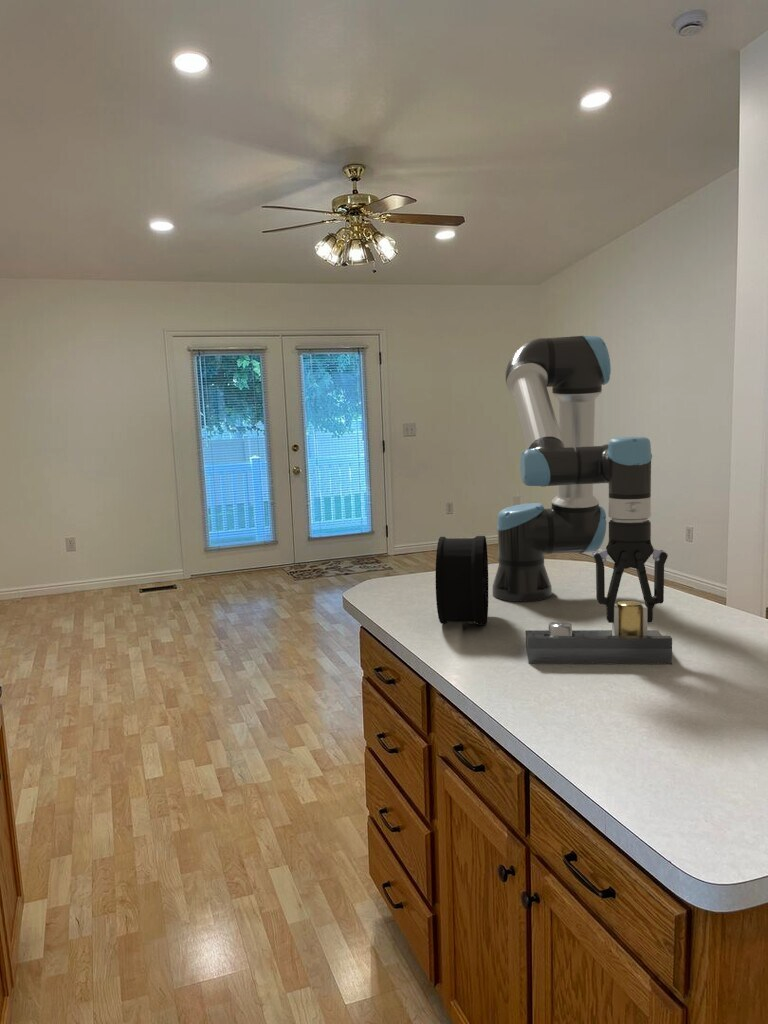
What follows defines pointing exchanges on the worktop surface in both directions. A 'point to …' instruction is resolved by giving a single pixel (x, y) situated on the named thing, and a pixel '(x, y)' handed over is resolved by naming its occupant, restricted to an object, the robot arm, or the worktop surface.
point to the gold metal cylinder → (630, 618)
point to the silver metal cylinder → (560, 628)
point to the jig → (597, 648)
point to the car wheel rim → (462, 580)
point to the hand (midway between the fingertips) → (629, 638)
